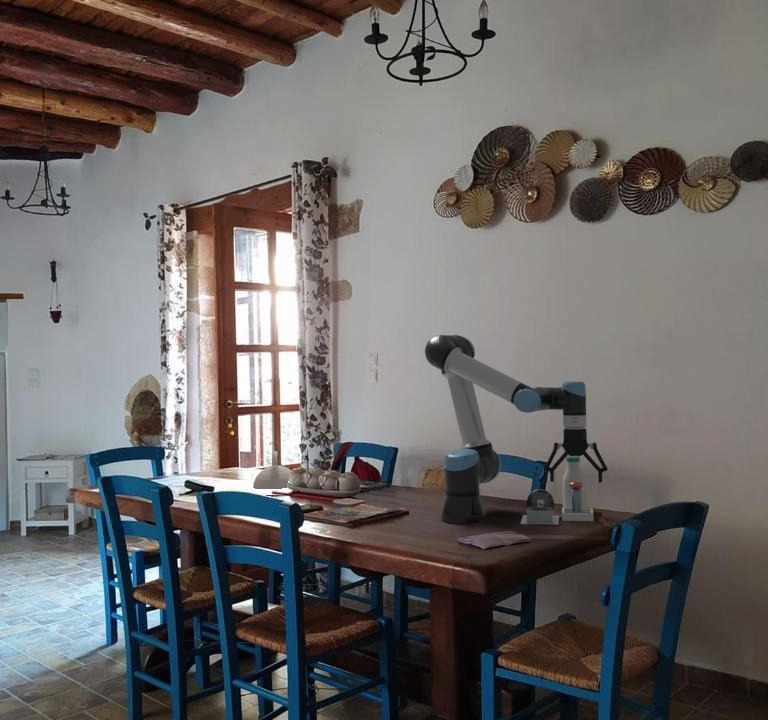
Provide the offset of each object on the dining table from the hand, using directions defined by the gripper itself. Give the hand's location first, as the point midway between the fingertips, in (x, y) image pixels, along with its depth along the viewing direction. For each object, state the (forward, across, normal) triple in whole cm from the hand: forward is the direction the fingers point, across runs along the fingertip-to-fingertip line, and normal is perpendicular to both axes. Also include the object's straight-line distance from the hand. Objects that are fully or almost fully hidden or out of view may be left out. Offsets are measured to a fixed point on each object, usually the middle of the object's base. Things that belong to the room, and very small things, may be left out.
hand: (576, 492), depth 265 cm
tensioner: (+10, -12, -4) cm, 16 cm away
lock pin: (+9, 0, 0) cm, 9 cm away
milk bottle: (+10, -1, +13) cm, 17 cm away
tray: (+10, 0, 0) cm, 10 cm away
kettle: (+11, -126, +54) cm, 137 cm away
